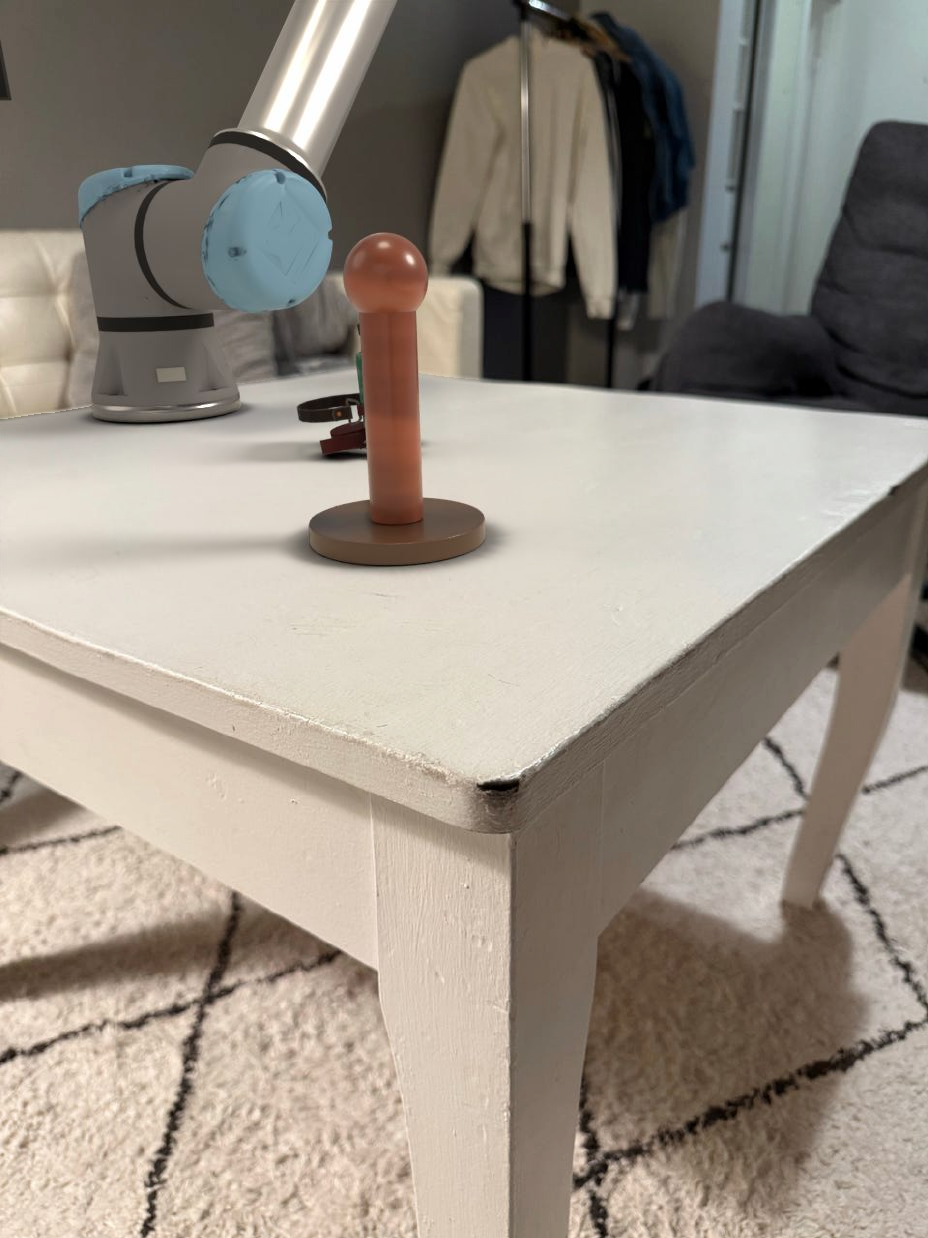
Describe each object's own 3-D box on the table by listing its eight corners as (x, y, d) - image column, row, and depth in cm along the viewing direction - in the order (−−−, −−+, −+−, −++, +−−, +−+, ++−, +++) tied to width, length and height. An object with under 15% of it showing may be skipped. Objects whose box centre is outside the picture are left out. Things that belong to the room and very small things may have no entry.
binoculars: (293, 326, 78) (409, 311, 77) (316, 449, 82) (426, 436, 81) (267, 334, 69) (397, 317, 69) (293, 470, 73) (416, 457, 72)
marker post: (301, 523, 56) (276, 236, 50) (459, 509, 58) (453, 233, 52) (321, 574, 47) (294, 230, 41) (507, 554, 49) (507, 227, 43)
